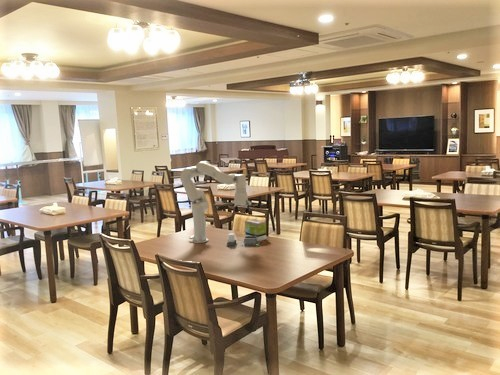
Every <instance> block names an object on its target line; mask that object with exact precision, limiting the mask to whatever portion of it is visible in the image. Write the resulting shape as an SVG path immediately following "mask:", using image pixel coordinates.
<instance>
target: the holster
mask: <svg viewBox="0 0 500 375" xmlns="http://www.w3.org/2000/svg"><path fill="white" fill-rule="evenodd" d="M237 246H238V243H237V239H235V242H229V239H228V240H227V242H226V245H225V247H226V248H227V247H229V248H231V247H232V248H233V247H234V248H235V247H237Z"/></svg>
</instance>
